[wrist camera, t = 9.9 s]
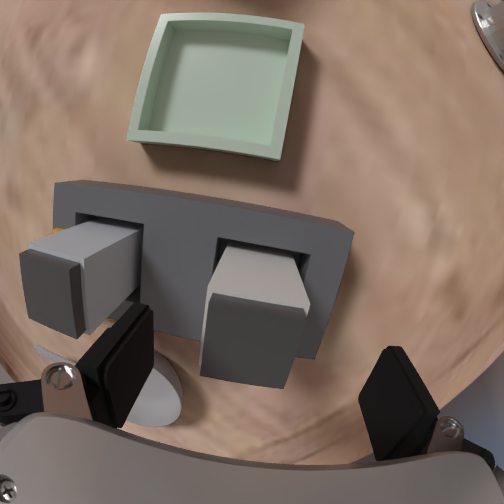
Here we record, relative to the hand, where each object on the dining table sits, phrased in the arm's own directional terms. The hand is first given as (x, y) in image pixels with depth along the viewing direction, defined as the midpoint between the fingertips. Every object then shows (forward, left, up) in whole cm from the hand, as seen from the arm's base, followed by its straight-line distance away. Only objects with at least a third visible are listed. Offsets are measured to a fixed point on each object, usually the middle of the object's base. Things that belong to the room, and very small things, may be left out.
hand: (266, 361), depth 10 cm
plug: (+1, +1, -11) cm, 11 cm away
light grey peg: (+11, +1, -11) cm, 16 cm away
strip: (+6, +1, -12) cm, 14 cm away
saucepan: (+14, +15, -13) cm, 24 cm away
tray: (+6, -13, -12) cm, 19 cm away
